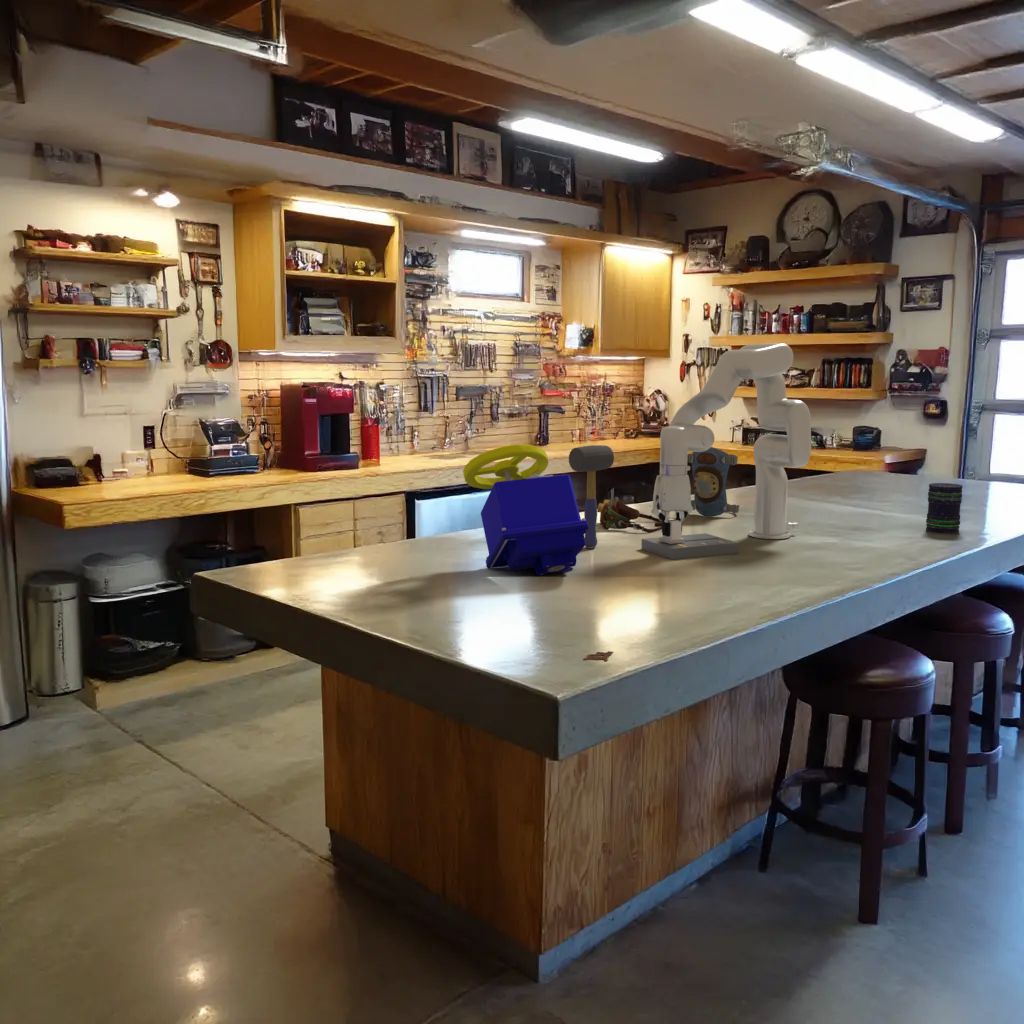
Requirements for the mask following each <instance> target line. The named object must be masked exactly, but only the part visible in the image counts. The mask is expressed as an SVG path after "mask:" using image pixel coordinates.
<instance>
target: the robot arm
mask: <svg viewBox="0 0 1024 1024" xmlns="http://www.w3.org/2000/svg"><path fill="white" fill-rule="evenodd" d="M793 362H794V352H793V350H792V348H791V346H790V345H788V344H786V343H782V342H777V343H774V342H773V343H751V344H746V345H744V346H742V347H741V348H739V349H730V350H727V351H725V352H724V353H723V354H721V356H720V357H719V359H718V361H717V362H716V365H715V366H714V368H713V369H712V372H711V374H710V376H709V377H708V379H707V381H706V383H705V385H704V386H703V388H702V389H701V390H700V392H698V393H697V394H695V395H693V397H691V398H690V399H689V400H688V401H686V402H685V403H684V404H683V405H681V407H679V409H678V410H677V411H676V412H675V414H674V416H673V417H672V420H671V421H670V424H669V425H668V426H664V427H662V428H661V430H660V444H659V445H660V448H659V449H660V450H659V451H660V452H659V474H658V475H656V479H655V483H654V487H653V488H654V489H653V497H652V509H651V514H653V515H654V516H656V518H658V519H660V521H662V529H661V534H662V535H664V536H667V537H669V536H670V522H669V519H670V514H671V513H670V512H674V516H675V517H674V518H675V520H678V521H682V522H685V518H686V517H687V516H688V515H690V514H691V513H692V512H693V511H694V510H693V507H692V505H691V500H692V499H691V498H692V488H691V481H690V477H689V475H688V471H690V470H691V466H690V465H688V463H687V454H689V453H688V452H693V451H694V452H703V451H706V450H708V449H709V448H710V447H713V445H714V442H715V433H714V432H713V430H712V429H711V428H710V427H708V426H706V425H702V424H695V423H696V422H697V421H699V420H700V419H701V418H703V417H705V416H707V415H709V414H711V413H714V412H717V411H719V410H721V409H723V408H726V407H727V406H728V405H729V404H730V402H731V401H732V399H733V396H734V395H735V392H737V389H738V388H739V386H740V384H741V383H742V381H743V380H753V382H754V384H755V388H756V409H757V410H756V411H757V421H758V425H759V426H760V428H761V429H763V430H767V431H777V432H778V431H779V432H786V435H785V434H775V433H774V434H773V433H771V434H770V433H768V434H763V435H761V436H759V437H758V438H757V439H756V441H755V442H754V445H753V458H754V464H755V465H754V466H755V489H754V490H755V493H754V513H753V514H754V515H753V516H754V518H753V529H750V530H749V531H748V536H750V537H753V538H756V539H762V540H763V539H764V540H783V539H789V538H790V537H791V534H792V533H791V532H789V531H790V530H795V529H798V528H799V523H798V522H790V521H787V507H788V504H787V503H788V487H789V485H788V483H789V479H788V475H787V472H786V470H785V467H786V468H793V469H794V468H795V469H796V468H797V469H798V468H802V467H804V466H806V465H807V464H808V463H809V461H810V458H811V454H812V424H811V423H812V421H811V420H812V419H811V413H810V409H809V406H808V405H807V404H806V403H805V402H804V401H802V400H799V399H792V398H791V399H790V398H789V399H788V397H787V389H786V381H785V377H784V375H783V373H785V372H788V370H789V369H790V368H791V367H792V365H793ZM682 532H683V523H682V524H681V533H682Z"/></svg>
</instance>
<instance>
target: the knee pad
mask: <svg viewBox="0 0 1024 1024" xmlns="http://www.w3.org/2000/svg"><path fill="white" fill-rule="evenodd" d="M738 459H739V456H738V455H737V454H736V455H735V454H733V453H732V454H729V453H728V452H725V451H724V450H721V449H720V448H717V447H713V446H711V447H710V448H709V449H708V450H706V451H703V452H694V451H692V453H687V464H688V463H689V464H691V468H692V478H693V479H692V483H693V489H694V490H693V493H694V495H693V497H694V499H691V505H692V507H693V511H697V512H698V514H699V515H701V516H703V517H707V518H709V517H718V516H722V514H724V513H732V514H738V513H739V511H740V510H739V509H740V505H739V504H730V503H728V498H727V489H726V488H727V487H726V486H727V485H726V484H727V480H728V479H727V478H728V473H729V470H730V469H729V468H730V466H735V465H738V461H739V460H738Z"/></svg>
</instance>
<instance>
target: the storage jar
mask: <svg viewBox="0 0 1024 1024" xmlns="http://www.w3.org/2000/svg"><path fill="white" fill-rule="evenodd" d="M963 488H964V487H963V485H962V484H957V483H947V482H946V483H945V482H944V483H943V482H942V483H940V482H935V483H929V484H928V492H927V496H928V497H927V502H928V503H927V505H928V506H927V513H926V520H925V523H926V524H925V525H926V527H925V532H928V533H933V534H940V535H957V534H959V533H960V526H961V504H962V501H963V499H962V498H963Z"/></svg>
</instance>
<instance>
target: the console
mask: <svg viewBox="0 0 1024 1024" xmlns="http://www.w3.org/2000/svg"><path fill="white" fill-rule="evenodd" d="M658 537H659V536H657V537H648V538H641V550H643V551H646V552H649V553H652V554H655V555H657V556H660V557H664V558H667V559H669V560H681V559H690V558H702V557H703V558H704V557H709V556H710V557H712V556H713V557H714V556H720V555H721V556H723V555H733V554H739V542H736V541H735V540H734V541H733V540H731V539H726V538H723V537H720V536H717V535H712V534H709V533H706V532H705V533H695V534H694V533H693V534H683V535H682V534H681V538H684V539H685V543H673V544H669V543H666V542H663V541H660V540H658Z"/></svg>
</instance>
